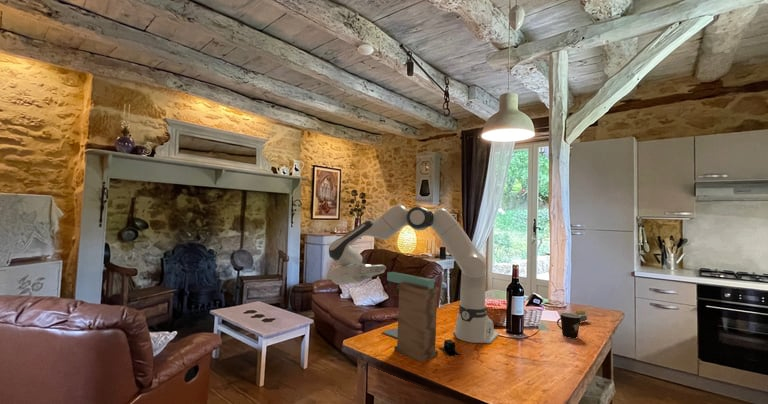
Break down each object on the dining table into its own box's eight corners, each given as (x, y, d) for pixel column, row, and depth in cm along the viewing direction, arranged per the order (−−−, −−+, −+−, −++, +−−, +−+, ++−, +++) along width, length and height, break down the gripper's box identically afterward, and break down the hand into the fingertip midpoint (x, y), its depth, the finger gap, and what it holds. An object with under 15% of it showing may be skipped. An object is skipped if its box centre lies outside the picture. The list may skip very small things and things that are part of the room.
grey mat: (395, 329, 167) (395, 327, 167) (432, 342, 151) (432, 340, 152) (382, 333, 160) (382, 331, 160) (419, 347, 145) (419, 345, 145)
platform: (560, 321, 192) (560, 309, 192) (580, 318, 200) (580, 306, 201) (580, 328, 181) (580, 315, 182) (601, 324, 190) (601, 312, 190)
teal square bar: (392, 279, 151) (392, 271, 151) (433, 288, 136) (434, 279, 136) (387, 280, 149) (387, 272, 149) (428, 289, 134) (428, 280, 134)
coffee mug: (575, 333, 171) (575, 313, 171) (583, 339, 162) (583, 318, 162) (550, 332, 172) (551, 311, 172) (557, 338, 163) (558, 316, 164)
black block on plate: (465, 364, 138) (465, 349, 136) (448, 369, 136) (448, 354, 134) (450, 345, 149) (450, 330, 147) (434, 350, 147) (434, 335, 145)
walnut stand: (410, 345, 147) (412, 279, 148) (437, 355, 137) (439, 285, 138) (394, 351, 139) (396, 282, 141) (422, 362, 130) (424, 288, 131)
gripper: (338, 267, 154) (359, 262, 145) (370, 264, 169) (391, 259, 160) (340, 282, 153) (361, 278, 144) (372, 277, 168) (393, 273, 159)
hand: (377, 268), depth 152 cm, fingers open, 8 cm apart
